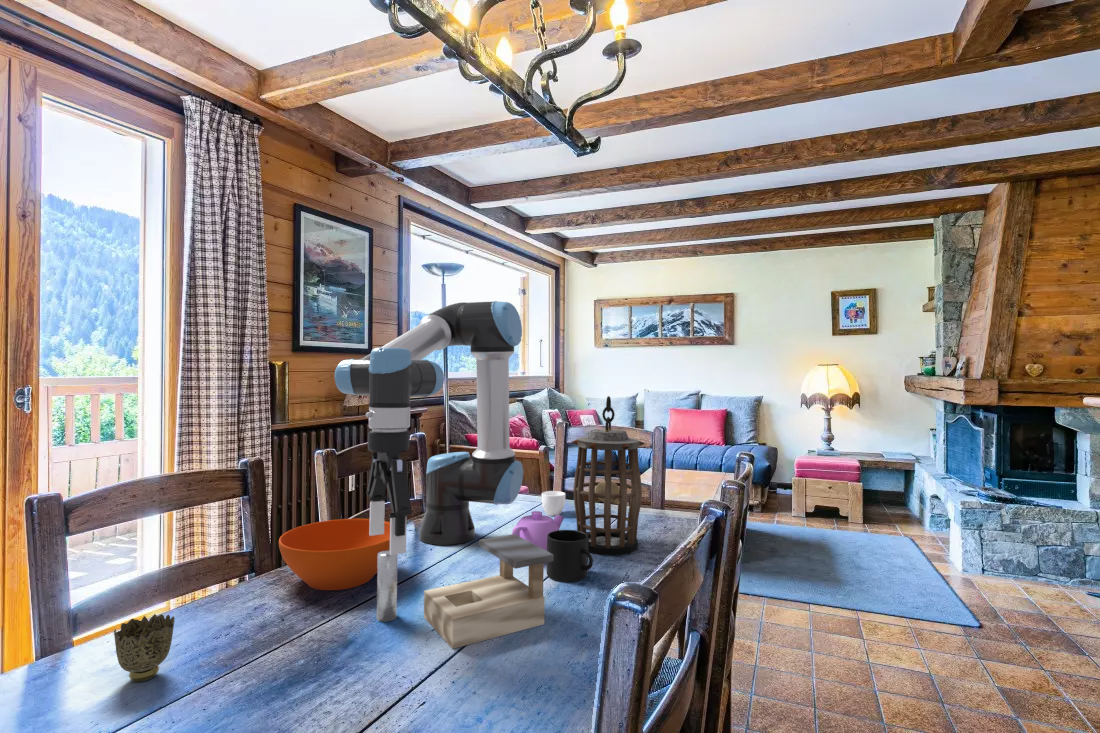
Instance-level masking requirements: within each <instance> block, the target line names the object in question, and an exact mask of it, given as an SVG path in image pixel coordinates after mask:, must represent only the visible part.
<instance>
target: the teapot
mask: <svg viewBox="0 0 1100 733" xmlns="http://www.w3.org/2000/svg"><path fill="white" fill-rule="evenodd" d="M563 521H564V516H562V515H556V516H554V518H552V516H549V515H545V514H544V515H543V512H542V511H540V510H539V511H538V510H535V511H532V512H531V515H525V516H522V517H521V518H520V519H519V520H518V522H517V523H516V525H515V526H514V527H513V528H512V533H511V535H512V534H515V535H517V536H519V537H521V538H523V539H525V540H527V541H529V542H531V543H532V544H534V545H536V546H538V547H540V548H542V549H544V550H546V551H547V535H548V534H549V533H550V532H553V531H557V530H560V527H561V526H562V523H563Z"/></svg>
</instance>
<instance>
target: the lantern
mask: <svg viewBox="0 0 1100 733" xmlns="http://www.w3.org/2000/svg"><path fill="white" fill-rule="evenodd" d="M605 402H606V403H605V407H604V408H603V410H602V414H601V415H602V419H603V420H604V422H605V428H596V429H590V431H589V433H588V436H581V437H577V439H575V440H572V441H571V443H572V444H575V445H577V448H578V450H577V460H576V461H577V462H576V468H575V473H574V482H573V490H572V491H573V503H574V511H575V518H576V531H581V532H584V533H586V534H587V535H588V551H589V552H590V553H591V555H592V554H593V555H598V556H614V557H615V556H616V557H617V556H622V555H629V554H632V553H634V552H635V551H638V550H639V541H638V538H637V537H638V525H639V516H640V512H641V506H642V499H643V498H642V497H643V490H642V479H641V471H640V466H639V464H640V462H639V450H638V449H640V447H641V446H643V445H646V443H645V442H642V440H639V439H638V438H634V437H629V436H628V433H627V431H626V430H624V429H617V428H615V429H614V428H612V422H613V420H614V419H615V410H614V409H613V407H612V401H611V397H610V395H608V396H606V401H605ZM606 412H607V413H610V412H611V417H609V416H607V417H606ZM588 450H591V451H590V452H591V453H590V461H587V458H588V457H587V455H588ZM598 451H604V458H603V460H602V461H599V460H598ZM613 451H617V461H612V460H613V459H612V458H613V457H612V456H613ZM626 451H627V452H626ZM627 453H628V455H627ZM627 456H628V463H627ZM599 465H604V466H603V467H604V469H598V466H599ZM587 466H590V468H589V467H587ZM612 466H617V468H618V469H616V470H614V469H613V470H612ZM586 473H589V474H590V475H589V481H588V482H585V480H586V479H585V477H586ZM597 474H598V475H604V481H599V482H598V481H596V480H597ZM627 474H629V475H630V476H629V477H630V484H627V483H628V482H627V481H628V479H627ZM612 475H618V477H619V478H618V480H619V482H613V481H612ZM587 487H588V491H584V490H585V488H587ZM628 489H630V492H629V493H628ZM585 497H588V509H589V510H588V511H589V514H588V515H586V507H585V506H586V505H585V504H586V502H585ZM596 499H597V500H599V501H600V502H602V503H603V513H599V514H596ZM628 499H630V500H629V506H628ZM611 504H613V505H617V514H612V509H611V508H612V505H611ZM628 508H629V509H628ZM627 510H628V511H627ZM627 512H628V514H627ZM600 518H601V519H602V518H603V528H602V527H597V522H596V520H597V519H600ZM612 519H616V528H612ZM587 520H589V525H587ZM626 521H627V525H626ZM587 530H588V531H587Z"/></svg>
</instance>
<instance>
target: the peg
mask: <svg viewBox="0 0 1100 733" xmlns="http://www.w3.org/2000/svg"><path fill="white" fill-rule="evenodd" d="M376 575H377V576H376V579H377V580H376V620H377V622H378V621H379V622H381V623H384V622H385V623H386V622H391V621H394V620H396V618H397V611H398V610H397V605H398V604H397V603H398V602H397V601H398V554H394V555H390V550H387V551H382V552H379V553H378V561H377V573H376Z"/></svg>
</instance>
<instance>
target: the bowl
mask: <svg viewBox="0 0 1100 733" xmlns="http://www.w3.org/2000/svg"><path fill="white" fill-rule="evenodd" d="M369 524H370V518H340V519H330V520H322V521H316V522H312V523H308V524H307V523H306V524H303V525H301V526H297V527H294V528H292V529H290V530H288V531H286V532H284V533H283V534H281V536H280V537H279V540H278V548H279V552H280V554H281V557H282V559H283V560H284V562H285V563H286V565H287V567H288V568H289V569H290V570H291V572H293V573H294V575H296V576H297V577H298V578H299V579H301V580H302V581H303V582H304V583H305V584H307V585H308V586H309V587H310V588H312V589H315V590H321V591H339V590H341V591H342V590H348V589H352V588H356V587H359V586H361V585H364V584H366V583H368V582H370V581H371V580H372V579H373V577H374V576H375V575H377V561H378V553H379V552H382V551H387V550H390V521H386V520H384V534H380V535H373V536H370V535H369Z"/></svg>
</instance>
